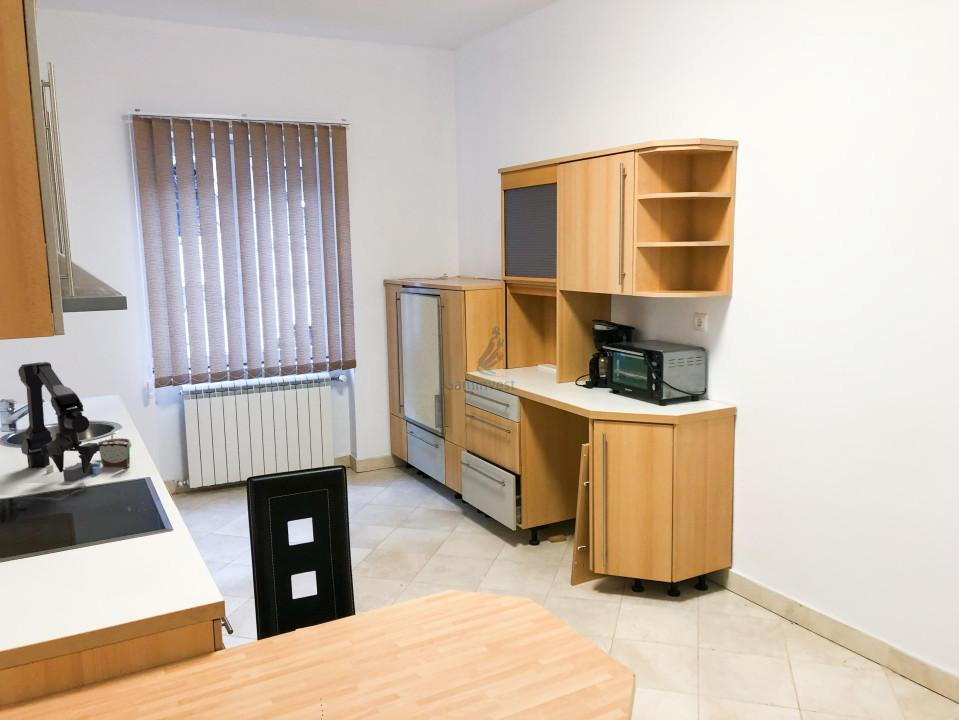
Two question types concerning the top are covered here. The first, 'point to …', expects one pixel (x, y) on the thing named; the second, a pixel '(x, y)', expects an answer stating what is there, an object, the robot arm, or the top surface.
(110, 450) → the food container
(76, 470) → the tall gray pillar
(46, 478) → the miniature room diorama
